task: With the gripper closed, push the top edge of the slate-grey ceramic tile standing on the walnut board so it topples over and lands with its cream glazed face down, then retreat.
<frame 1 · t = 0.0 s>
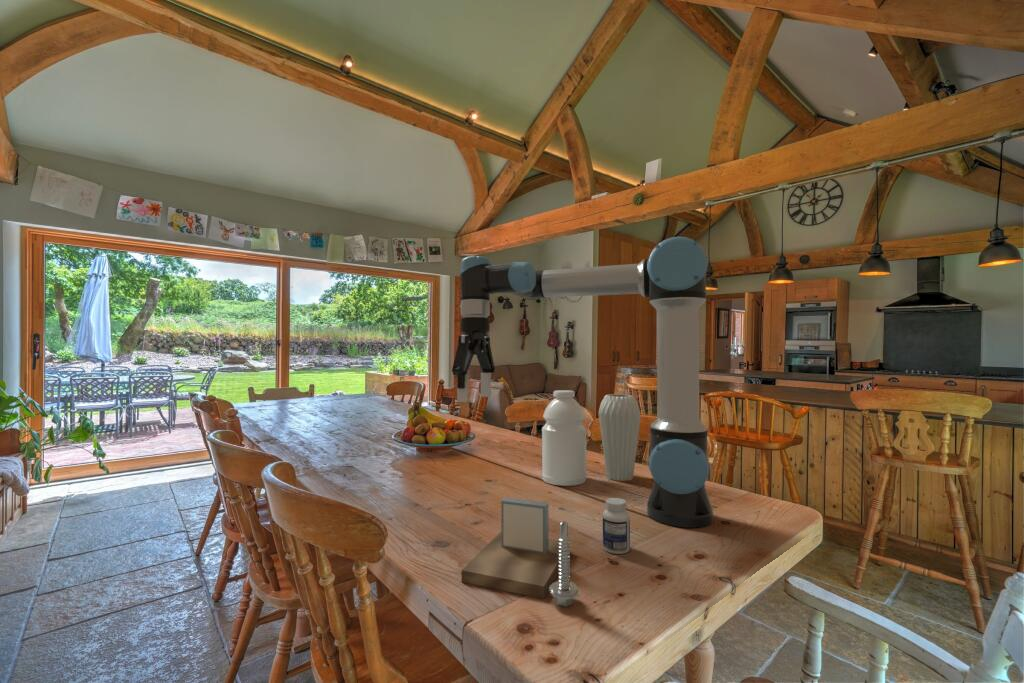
hand: (474, 399, 115), 28 cm above the table, fingers open, 13 cm apart
bottle: (564, 480, 140), on the table
vase: (619, 478, 142), on the table
screw: (564, 603, 71), on the table
pill bottle: (616, 549, 91), on the table
tile: (524, 548, 86), point 2 cm above the table, touching board
board: (519, 566, 83), on the table
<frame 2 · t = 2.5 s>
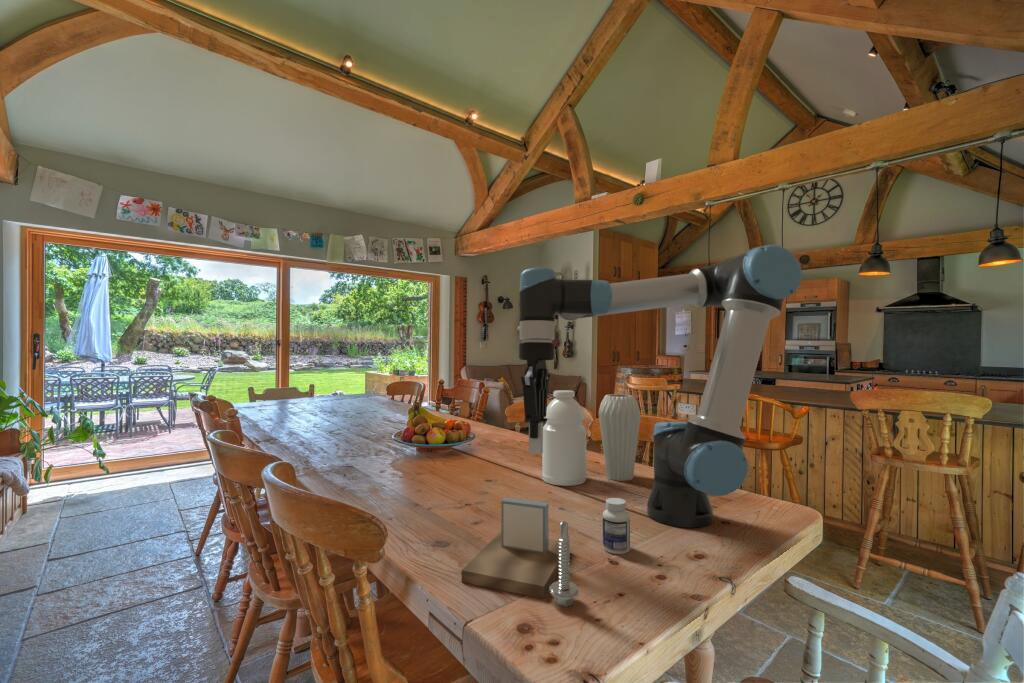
hand: (535, 452, 94), 19 cm above the table, fingers closed
nothing on the table moved.
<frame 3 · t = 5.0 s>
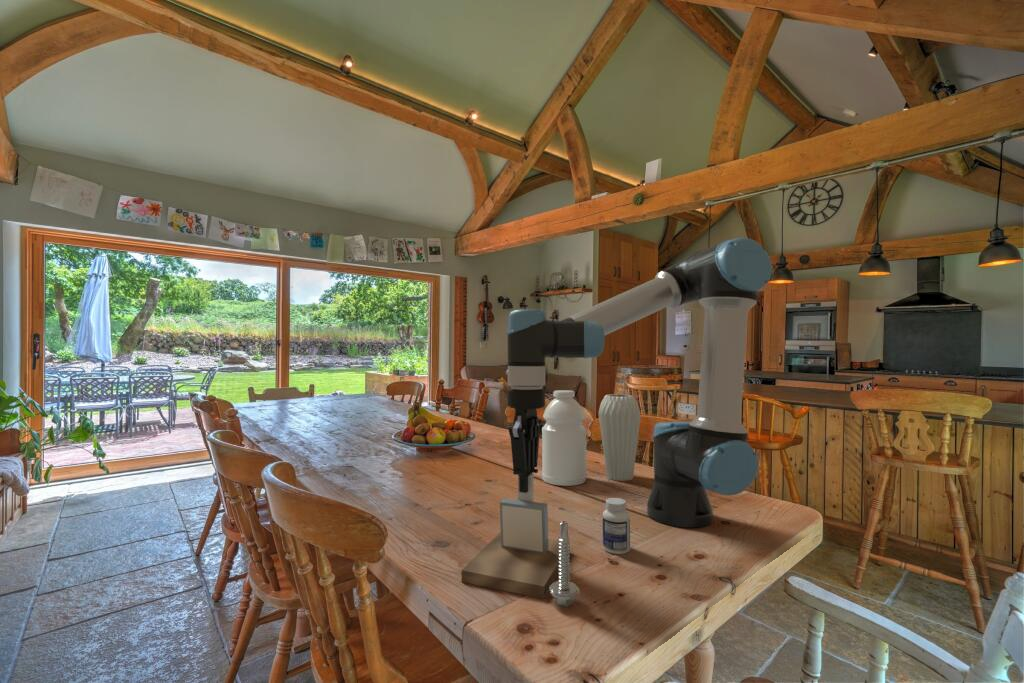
hand: (525, 507, 88), 10 cm above the table, fingers closed
tile: (524, 548, 86), point 2 cm above the table, tilted 5°, touching board
everything else where it was.
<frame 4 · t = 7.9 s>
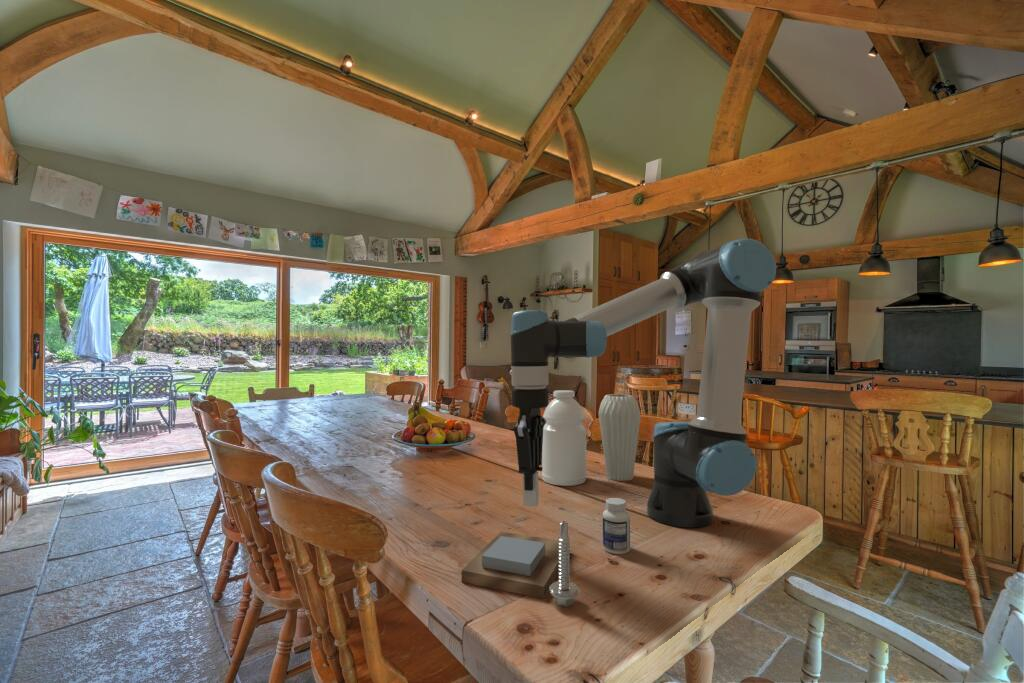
hand: (530, 504, 89), 10 cm above the table, fingers closed
tile: (522, 545, 85), point 3 cm above the table, tilted 90°, touching board
everything else where it was.
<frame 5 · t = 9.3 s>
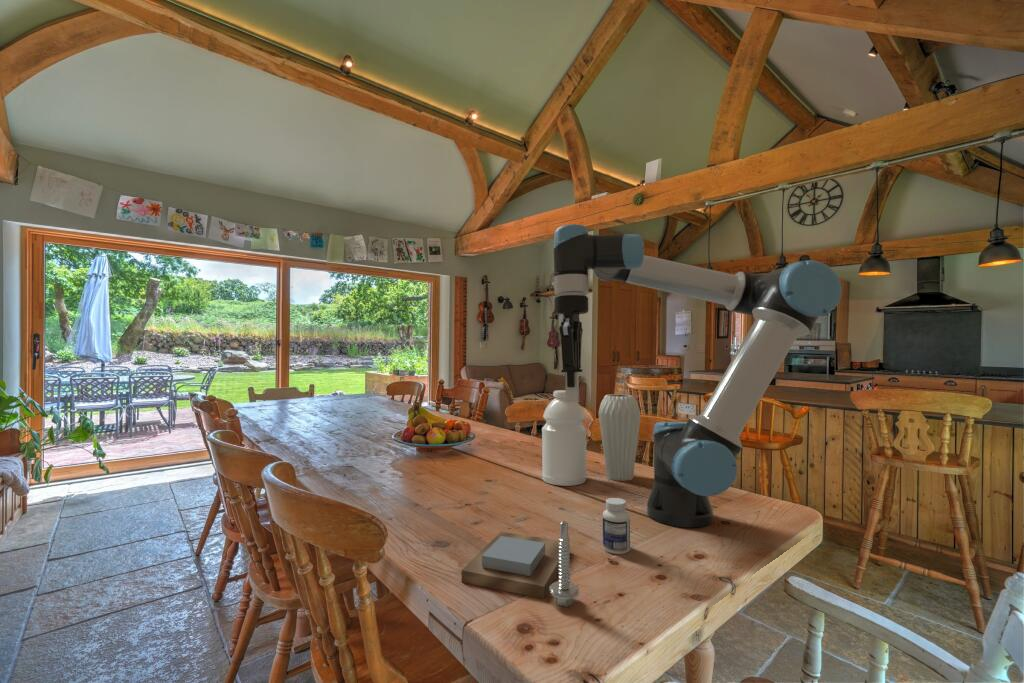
hand: (572, 401, 99), 29 cm above the table, fingers closed
nothing on the table moved.
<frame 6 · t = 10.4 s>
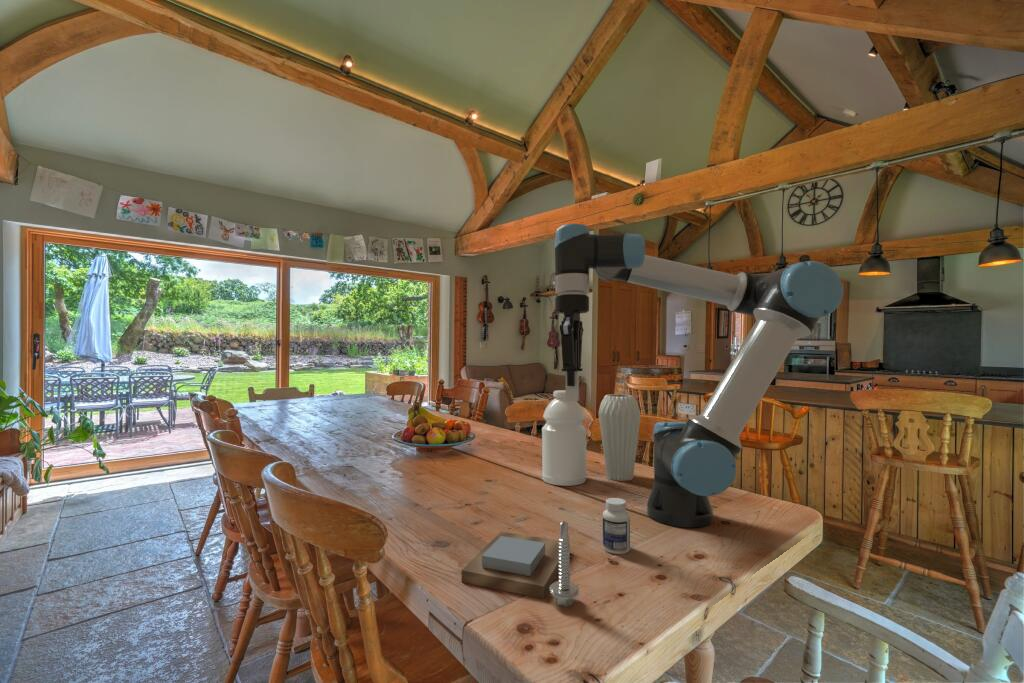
hand: (572, 400, 99), 29 cm above the table, fingers closed
nothing on the table moved.
at the end: tile tilted 90°; tile inside the target area on the board (1.9 cm from its centre), point 3.1 cm above the board's base; tile touching board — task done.
